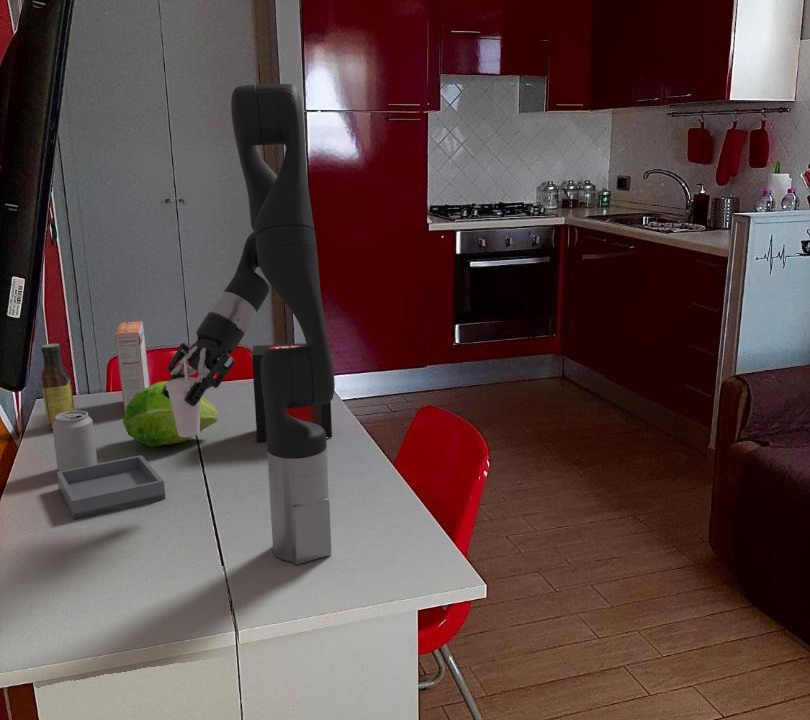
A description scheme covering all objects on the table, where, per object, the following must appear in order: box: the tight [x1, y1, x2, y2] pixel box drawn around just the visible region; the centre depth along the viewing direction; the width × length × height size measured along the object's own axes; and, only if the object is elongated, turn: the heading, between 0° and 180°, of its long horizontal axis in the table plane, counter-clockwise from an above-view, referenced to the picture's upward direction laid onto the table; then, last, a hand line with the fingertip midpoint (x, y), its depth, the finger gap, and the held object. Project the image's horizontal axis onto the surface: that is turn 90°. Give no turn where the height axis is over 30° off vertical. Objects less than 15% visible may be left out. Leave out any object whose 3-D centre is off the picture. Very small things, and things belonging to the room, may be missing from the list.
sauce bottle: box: [40, 343, 76, 430], centre depth 188 cm, size 7×6×20 cm
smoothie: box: [166, 358, 201, 438], centre depth 143 cm, size 6×6×14 cm
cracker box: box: [114, 320, 151, 414], centre depth 203 cm, size 14×6×21 cm, turn 14°
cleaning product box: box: [251, 342, 333, 444], centre depth 182 cm, size 16×9×20 cm, turn 99°
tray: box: [56, 454, 166, 520], centre depth 152 cm, size 16×16×4 cm
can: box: [52, 410, 98, 472], centre depth 163 cm, size 8×8×12 cm
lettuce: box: [122, 380, 219, 448], centre depth 178 cm, size 15×20×14 cm
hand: (177, 399), depth 142 cm, fingers closed on smoothie, 6 cm apart
